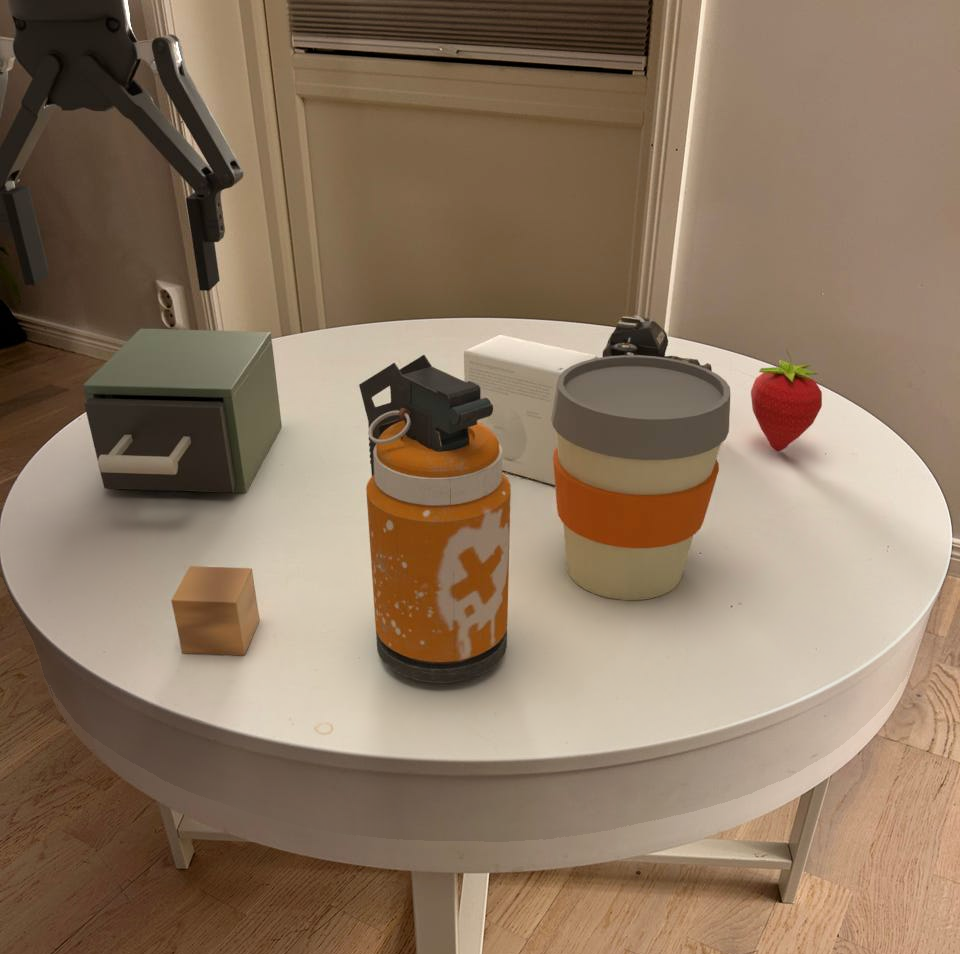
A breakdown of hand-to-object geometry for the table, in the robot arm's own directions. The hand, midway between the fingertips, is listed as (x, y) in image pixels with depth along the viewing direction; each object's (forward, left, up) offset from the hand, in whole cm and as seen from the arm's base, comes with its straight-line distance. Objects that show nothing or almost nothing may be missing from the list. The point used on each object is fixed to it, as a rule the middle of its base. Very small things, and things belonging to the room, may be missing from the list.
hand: (123, 283), depth 77 cm
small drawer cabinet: (+1, +9, -18) cm, 20 cm away
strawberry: (+56, +14, -19) cm, 60 cm away
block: (+11, -20, -18) cm, 29 cm away
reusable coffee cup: (+40, -9, -19) cm, 45 cm away
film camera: (+44, +20, -19) cm, 51 cm away
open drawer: (+1, +3, -17) cm, 18 cm away
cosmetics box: (+32, +10, -19) cm, 38 cm away
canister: (+26, -20, -19) cm, 38 cm away
